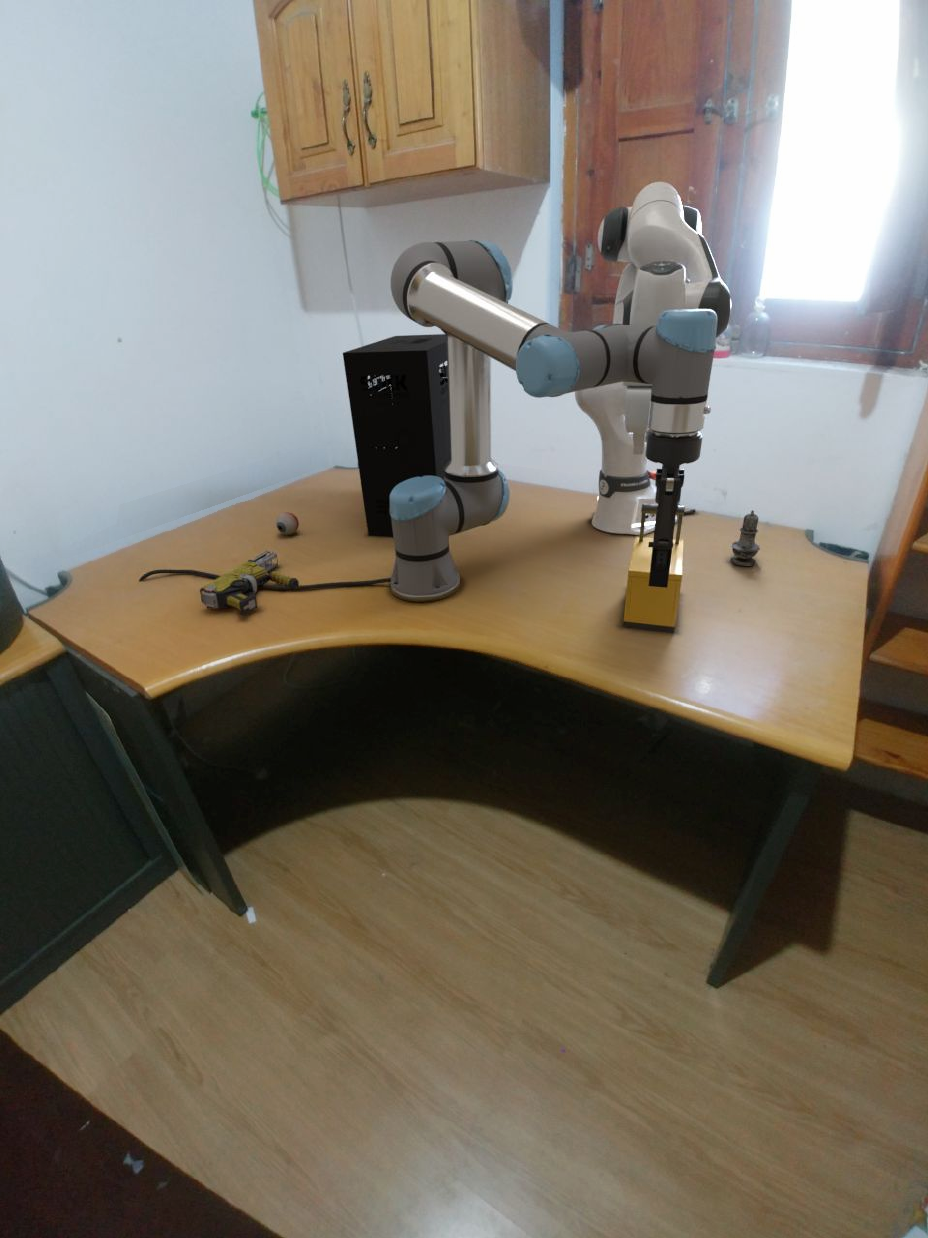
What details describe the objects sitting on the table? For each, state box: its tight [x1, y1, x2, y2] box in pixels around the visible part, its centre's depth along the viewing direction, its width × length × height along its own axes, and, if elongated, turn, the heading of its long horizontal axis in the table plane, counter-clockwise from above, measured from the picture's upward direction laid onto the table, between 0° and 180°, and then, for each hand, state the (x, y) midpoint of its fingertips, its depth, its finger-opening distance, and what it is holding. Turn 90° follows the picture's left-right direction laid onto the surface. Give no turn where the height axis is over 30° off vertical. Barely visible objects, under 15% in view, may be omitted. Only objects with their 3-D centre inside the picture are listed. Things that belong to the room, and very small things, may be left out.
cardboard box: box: [342, 333, 451, 537], centre depth 164 cm, size 38×20×45 cm, turn 167°
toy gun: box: [199, 550, 300, 616], centre depth 135 cm, size 5×24×15 cm
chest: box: [622, 575, 683, 633], centre depth 117 cm, size 15×9×11 cm, turn 162°
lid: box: [627, 504, 686, 582], centre depth 112 cm, size 16×9×9 cm, turn 162°
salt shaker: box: [729, 509, 761, 567], centre depth 133 cm, size 6×6×12 cm
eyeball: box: [275, 511, 300, 536], centre depth 163 cm, size 6×6×6 cm
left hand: (659, 567), depth 96 cm, fingers open, 13 cm apart
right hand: (643, 447), depth 113 cm, fingers open, 8 cm apart
